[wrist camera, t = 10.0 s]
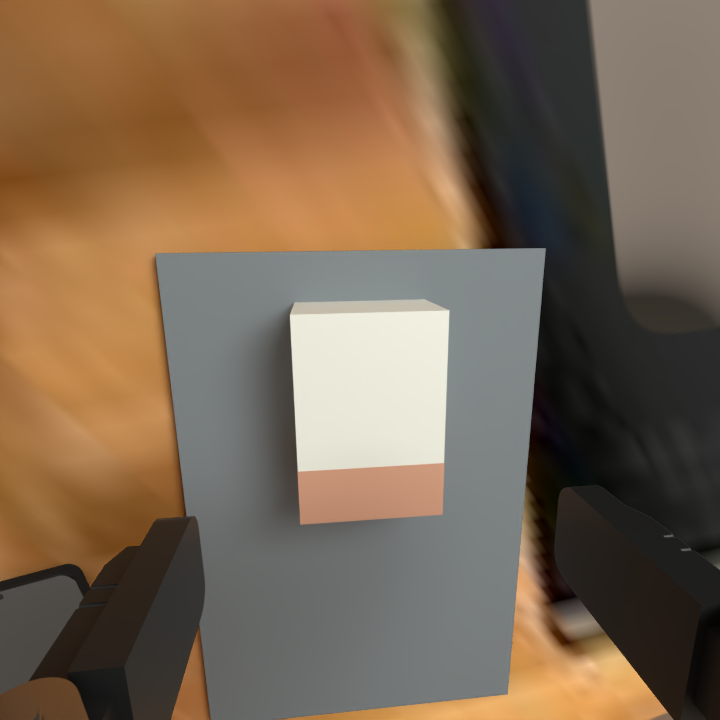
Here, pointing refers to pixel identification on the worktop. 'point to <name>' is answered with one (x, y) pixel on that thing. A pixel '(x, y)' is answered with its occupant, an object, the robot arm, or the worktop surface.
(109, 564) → the robot arm
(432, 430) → the card box
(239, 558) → the mat
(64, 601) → the smartphone
